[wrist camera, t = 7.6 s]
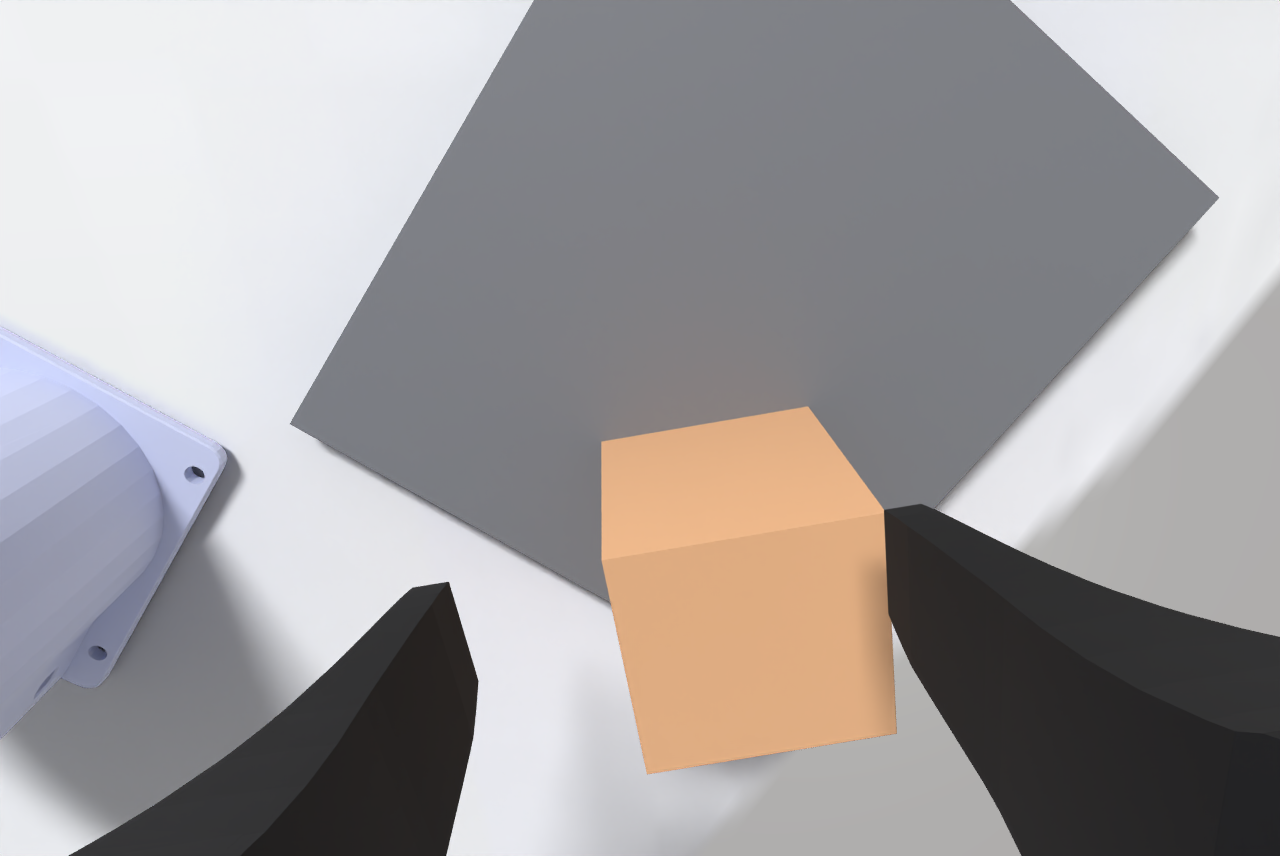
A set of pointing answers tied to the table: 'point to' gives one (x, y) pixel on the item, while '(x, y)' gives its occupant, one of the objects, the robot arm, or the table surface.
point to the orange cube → (746, 590)
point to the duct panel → (745, 251)
